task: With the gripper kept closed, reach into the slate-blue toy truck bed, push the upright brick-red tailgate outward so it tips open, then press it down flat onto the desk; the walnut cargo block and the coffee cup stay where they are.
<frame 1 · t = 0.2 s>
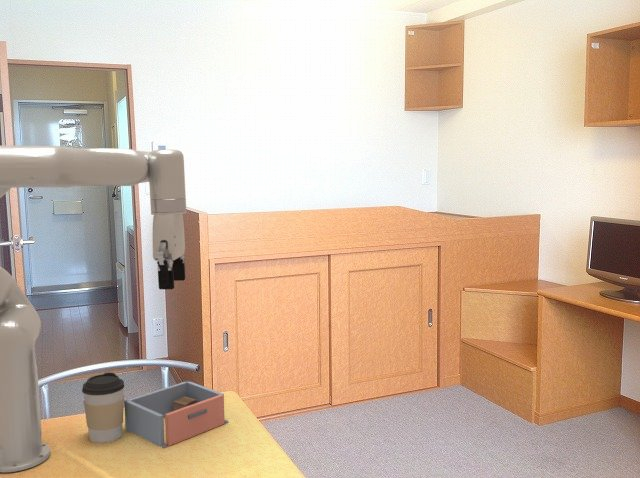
hand: (172, 284, 140), 36 cm above the table, tool pointing down, fingers open, 9 cm apart
truck bed: (175, 429, 150), on the table
cargo block: (185, 420, 156), resting on truck bed
tailgate: (196, 419, 144), point 5 cm above the table, hinge at 0.0°
coffee cup: (106, 441, 144), on the table
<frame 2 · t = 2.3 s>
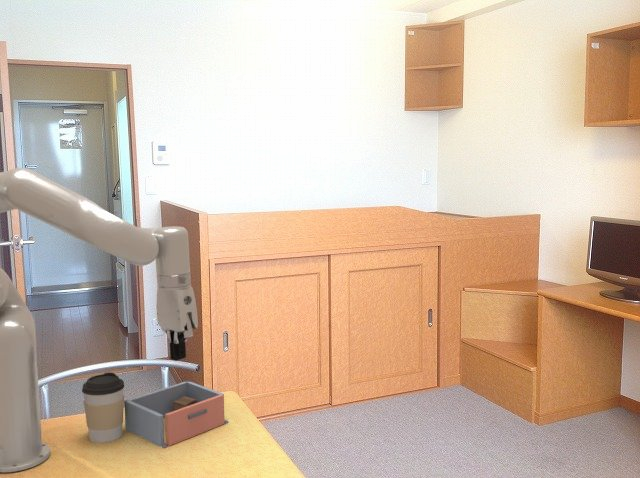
hand: (178, 358, 148), 18 cm above the table, tool pointing down, fingers closed
nothing on the table moved.
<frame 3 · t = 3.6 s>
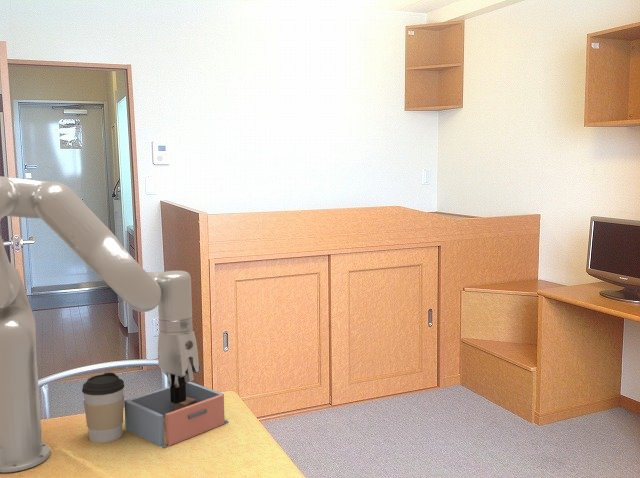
hand: (178, 401, 148), 7 cm above the table, tool pointing down, fingers closed
nothing on the table moved.
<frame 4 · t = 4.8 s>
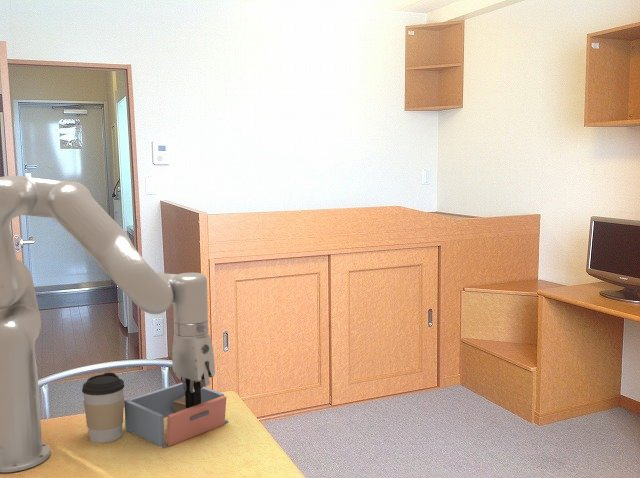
hand: (193, 406, 145), 7 cm above the table, tool pointing down, fingers closed
tailgate: (197, 420, 144), point 5 cm above the table, hinge at 8.2°, touching gripper
everything else where it was.
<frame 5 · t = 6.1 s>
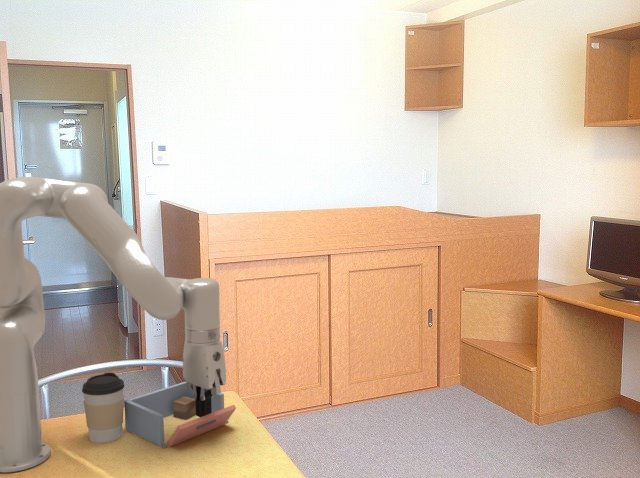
hand: (203, 415, 142), 7 cm above the table, tool pointing down, fingers closed
tailgate: (202, 426, 143), point 4 cm above the table, hinge at 39.7°, touching gripper
everything else where it was.
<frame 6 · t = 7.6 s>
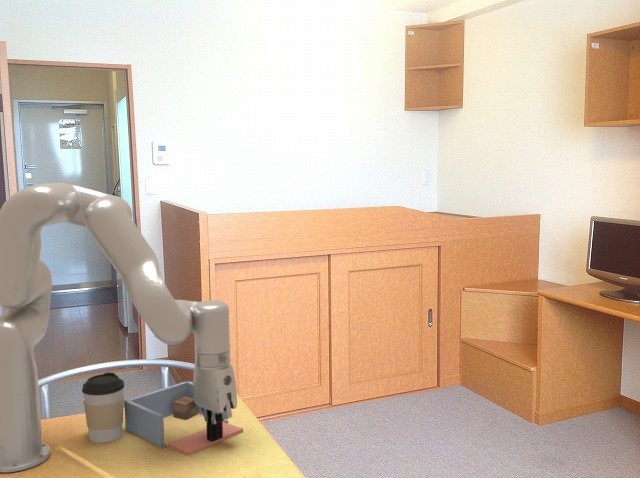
hand: (214, 438, 140), 2 cm above the table, tool pointing down, fingers closed
tailgate: (206, 439, 142), point 1 cm above the table, hinge at 87.6°
everything else where it was.
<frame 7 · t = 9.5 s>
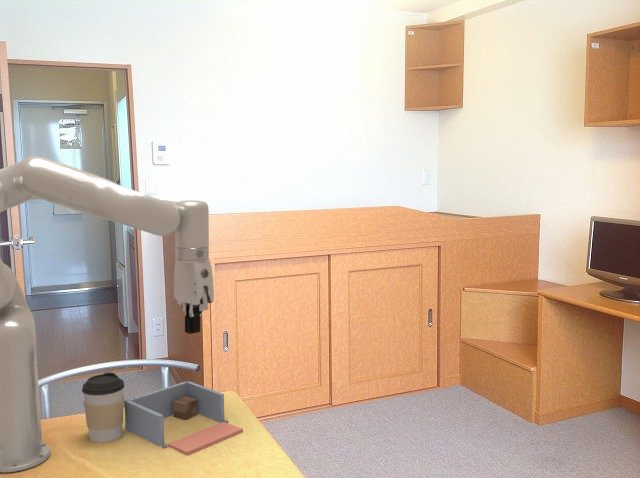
hand: (192, 332, 148), 23 cm above the table, tool pointing down, fingers closed
nothing on the table moved.
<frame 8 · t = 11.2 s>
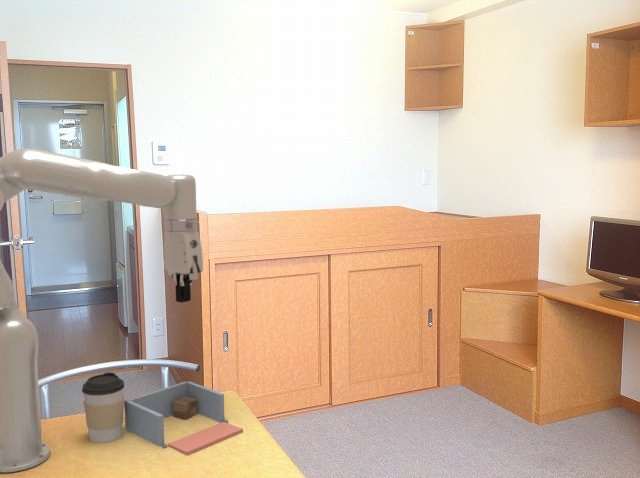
hand: (183, 301, 155), 29 cm above the table, tool pointing down, fingers closed
nothing on the table moved.
at the end: tailgate at +88° (first picture: +0°); cargo block inside the target area on the truck bed (5.8 cm from its centre), point 0.0 cm above the truck bed's base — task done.
